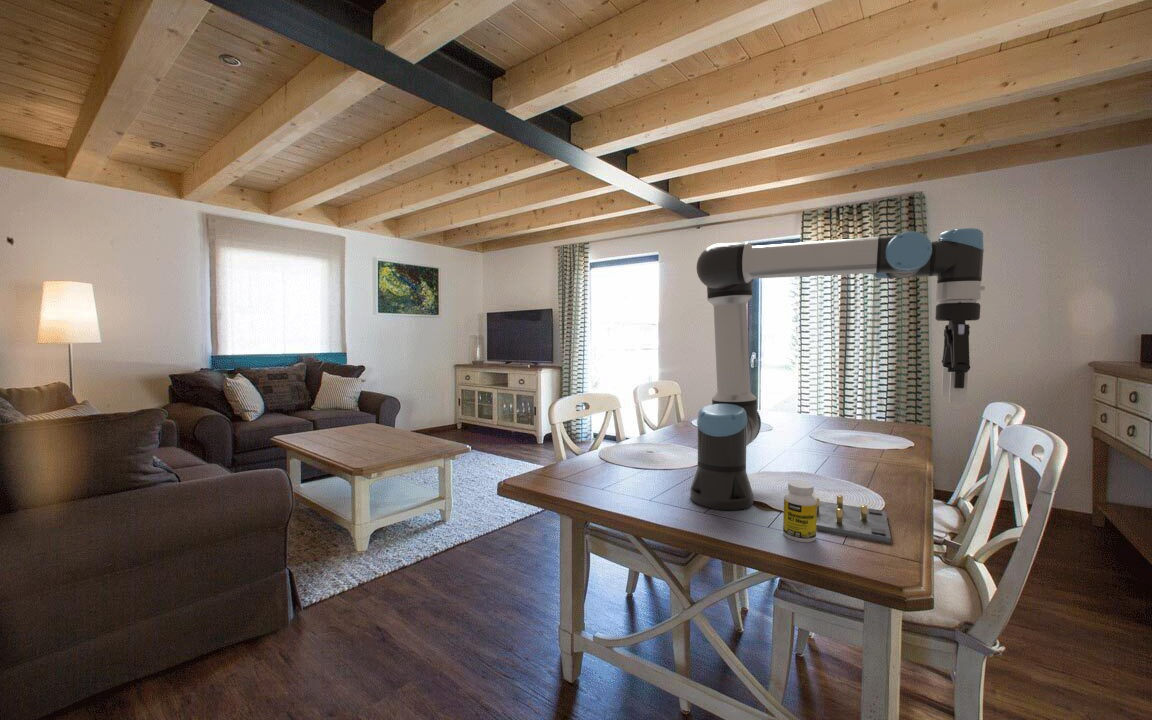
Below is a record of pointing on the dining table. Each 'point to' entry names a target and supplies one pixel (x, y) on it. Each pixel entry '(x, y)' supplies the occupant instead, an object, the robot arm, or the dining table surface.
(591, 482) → the dining table surface
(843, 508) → the plate
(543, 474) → the dining table surface
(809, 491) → the pill bottle
